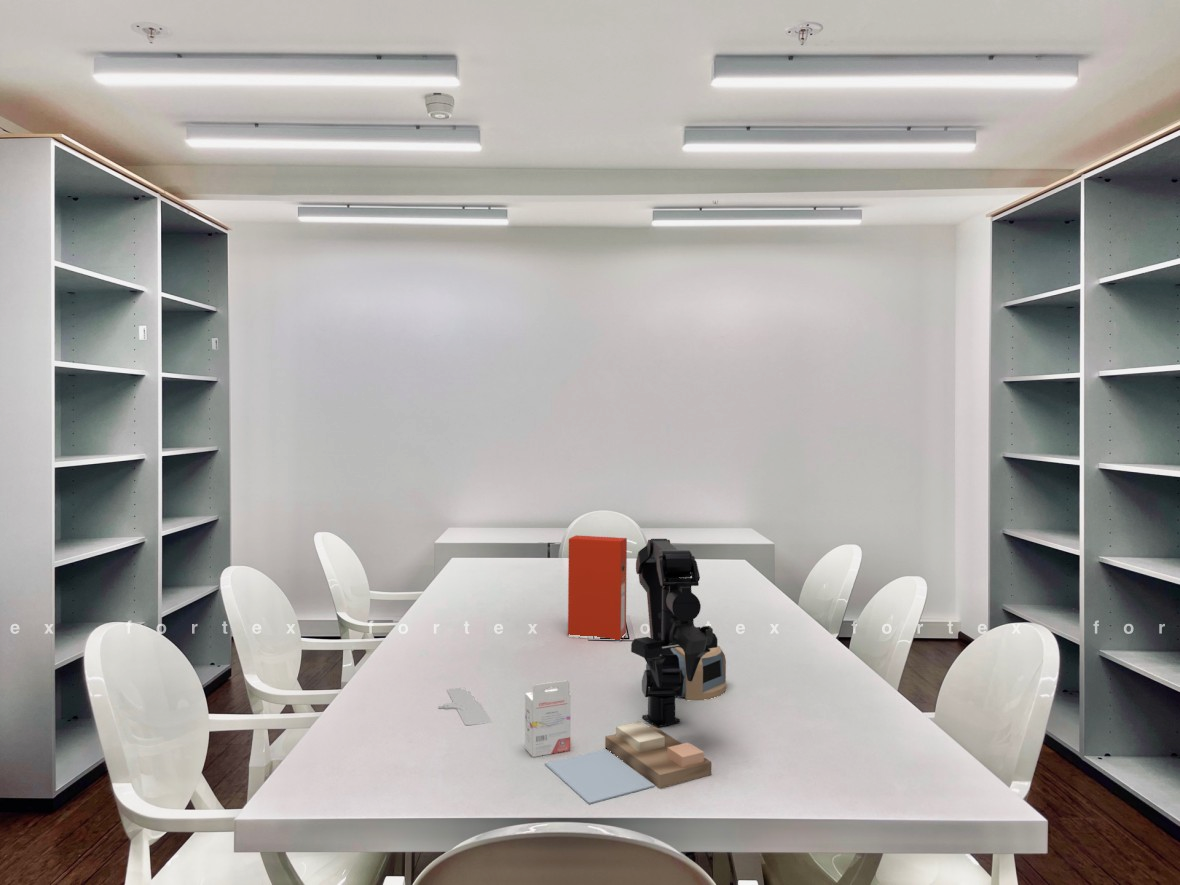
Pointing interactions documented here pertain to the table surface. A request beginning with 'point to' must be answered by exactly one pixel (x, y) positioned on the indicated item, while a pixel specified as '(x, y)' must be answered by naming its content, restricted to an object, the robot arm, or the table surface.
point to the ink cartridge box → (547, 719)
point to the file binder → (597, 586)
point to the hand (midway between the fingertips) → (674, 683)
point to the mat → (598, 776)
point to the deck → (657, 762)
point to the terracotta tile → (685, 755)
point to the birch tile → (640, 736)
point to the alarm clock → (704, 675)
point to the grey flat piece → (466, 707)
